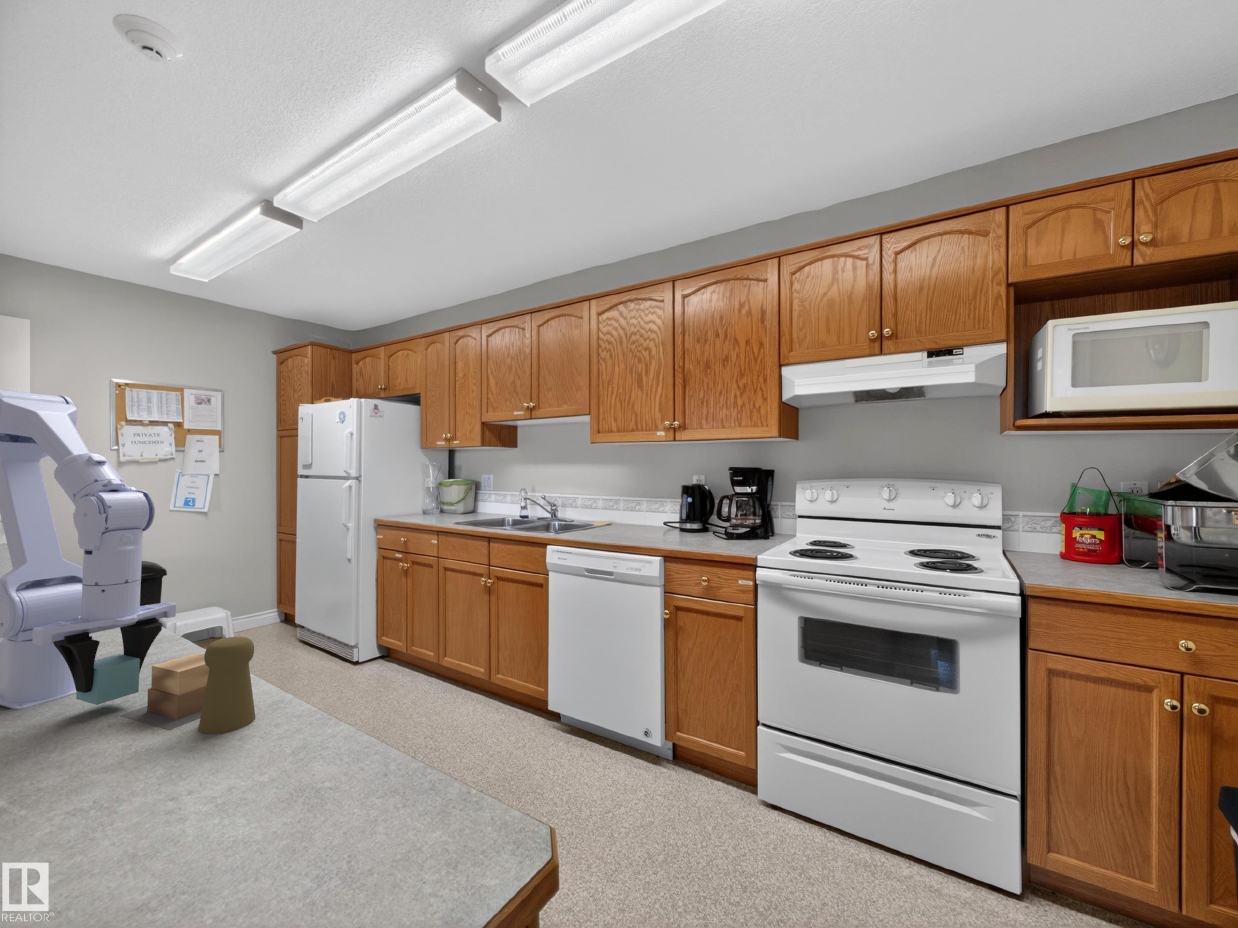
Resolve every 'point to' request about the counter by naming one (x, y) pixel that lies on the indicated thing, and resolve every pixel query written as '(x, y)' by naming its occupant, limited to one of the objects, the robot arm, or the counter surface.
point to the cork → (228, 686)
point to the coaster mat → (159, 718)
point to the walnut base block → (175, 703)
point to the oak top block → (180, 674)
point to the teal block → (112, 679)
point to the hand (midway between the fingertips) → (108, 683)
